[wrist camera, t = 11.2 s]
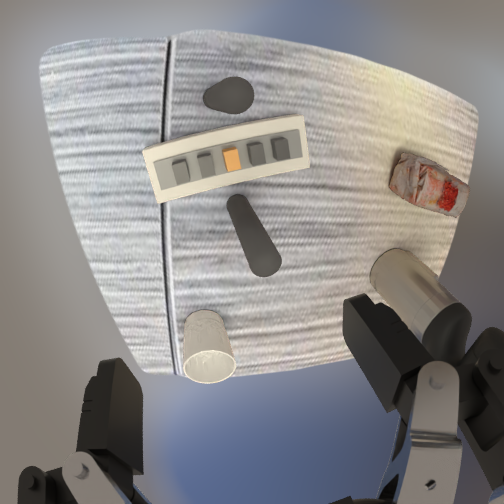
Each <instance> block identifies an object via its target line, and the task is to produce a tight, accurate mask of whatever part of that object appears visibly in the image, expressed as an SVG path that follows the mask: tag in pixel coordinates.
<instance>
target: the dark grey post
mask: <svg viewBox="0 0 504 504" xmlns="http://www.w3.org/2000/svg"><path fill="white" fill-rule="evenodd" d="M253 100H254V90H253V88H252V86H251V84H250V83H249V82H248V81H247V80H245V79H243V78H240V77H228V78H226V79H224V80H222V81H221V82H219V83H217V84H216V85H214V86H212V87H211V88H209V89H208V90H207V91H206V92H205V93H204V96H203V101H204V103H205V105H206V106H207V107H208V108H210V109H214V110H217V111H221V112H225V113H228V114H240V113H242V112H244V111H246V110H247V109H248V108H249V107H250V106H251V105H252V103H253Z"/></svg>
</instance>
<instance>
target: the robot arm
mask: <svg viewBox="0 0 504 504" xmlns="http://www.w3.org/2000/svg"><path fill="white" fill-rule="evenodd" d="M370 281H371V284H372V286H373V287H374V288H375V289H376V291H377V292H378V293H379V294H380V295H381V296H382V297H383V299H384V300H385V301H386V302H387V303H388V305H389V306H390V307H391V308H390V307H388V306H387V305H385V304H383V303H378V304H374V303H373V302H372V300H371V299H370V298H369V297H368V296H367V295H366V294H365V293H363V294H360V295H357V296H354V297H351V298H348V299H345V300H344V303H343V336H344V339H345V342H346V344H347V346H348V348H349V349H350V351H351V353H352V354H353V356H354V358H355V359H356V361H357V363H358V364H359V366H360V368H361V369H362V371H363V373H364V374H365V376H366V378H367V380H368V381H369V383H370V385H371V386H372V388H373V389H374V391H375V393H376V395H377V397H378V398H379V400H380V402H381V403H382V405H383V407H384V409H385V410H386V412H387V413H388V412H390V411H392V410H394V409H397V410H398V412H399V413H400V417H399V422H398V426H397V431H396V436H395V440H394V445H393V448H392V453H391V457H390V460H389V464H388V467H387V469H386V471H385V473H384V476H383V479H382V481H381V484H380V488H379V491H378V494H377V497H376V499H355V500H352V498H351V496H349V497H346V498H344V499H341V500H338V501H335V502H333V503H330V504H453V502H454V497H455V492H456V487H457V482H458V476H459V470H460V463H461V456H462V442H461V440H460V439H458V438H457V423H458V425H459V427H460V429H461V431H462V432H463V434H464V436H465V438H466V440H467V441H468V443H469V445H470V447H471V449H472V450H473V452H474V454H475V456H476V458H477V460H478V462H479V464H480V466H481V468H482V470H483V472H484V474H485V476H486V478H487V480H488V482H489V484H490V486H491V488H492V490H493V492H492V494H491V496H490V498H489V502H488V504H504V332H503V331H501V330H500V329H498V328H495V327H489V328H487V329H485V330H484V331H483V332H482V333H481V335H480V336H479V337H478V338H477V340H476V341H475V342H474V344H473V345H472V346H471V347H470V349H469V350H468V351H467V353H466V354H465V345H466V340H467V336H468V333H469V330H470V327H471V322H472V317H471V313H470V312H469V310H468V309H467V308H466V307H465V306H464V305H463V304H462V303H461V302H459V300H458V299H456V298H455V297H454V296H453V295H452V294H451V293H450V292H449V291H448V290H447V289H446V288H445V287H444V286H443V285H441V284H440V283H439V282H438V275H437V274H435V273H434V272H433V271H432V270H431V269H430V268H429V267H427V266H426V265H425V264H424V263H423V262H422V261H420V260H419V259H418V258H417V257H416V256H415V255H413V254H412V253H411V252H410V251H403V250H401V249H392V250H389V251H387V252H386V253H384V254H383V255H382V256H381V257H380V258H379V259H378V260H377V261H376V262H375V264H374V266H373V268H372V270H371V274H370ZM408 328H409V329H408ZM83 401H84V403H83V405H82V413H81V418H80V425H79V432H78V441H77V448H76V452H75V453H72V454H71V455H70V456H68V457H67V458H66V460H65V462H64V464H63V467H60V468H57V469H54V470H51V471H47V472H44V471H42V470H41V469H39V468H37V467H35V466H29V467H27V468H25V469H24V470H23V471H22V473H21V475H20V477H19V485H18V504H152V503H151V502H150V501H149V500H148V499H147V498H146V497H145V495H144V494H143V493H142V492H141V491H140V490H139V489H138V487H137V486H136V485H135V484H134V483H133V475H143V474H144V472H143V437H142V436H143V431H142V430H143V393H142V389H141V386H140V384H139V382H138V381H137V379H136V378H135V376H134V375H133V374H132V372H131V371H130V370H129V368H128V367H127V365H126V364H125V363H124V361H123V360H122V359H121V358H114V359H109V360H103V361H100V363H99V366H98V371H97V376H93V377H92V378H91V379H90V381H89V383H88V385H87V387H86V389H85V394H84V400H83ZM427 488H428V490H426V489H427Z"/></svg>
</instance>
